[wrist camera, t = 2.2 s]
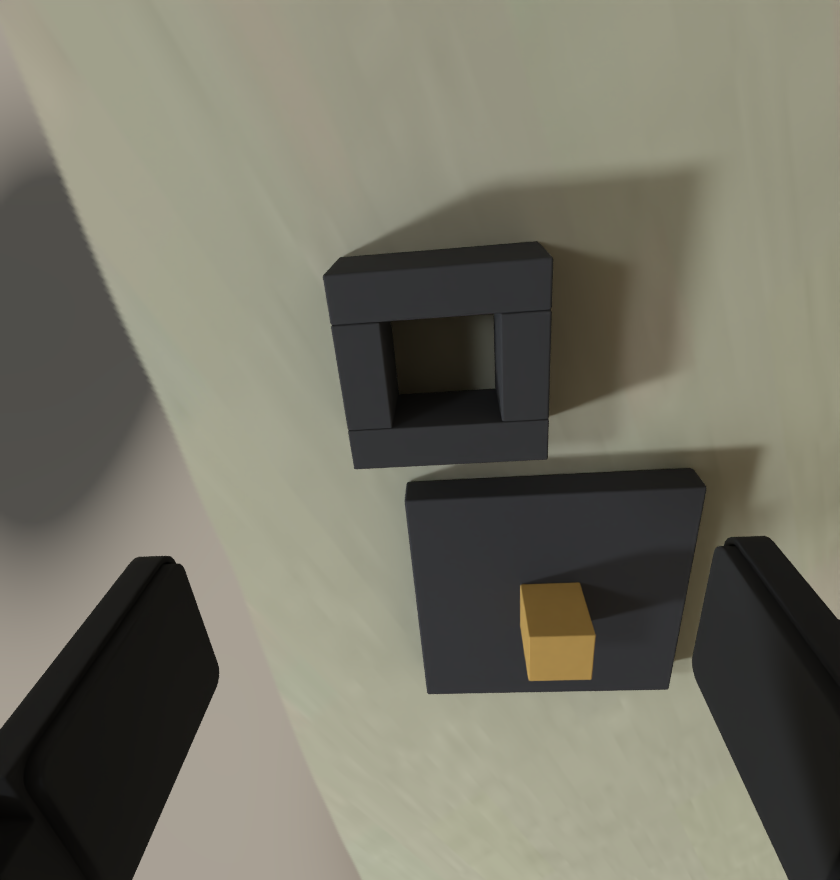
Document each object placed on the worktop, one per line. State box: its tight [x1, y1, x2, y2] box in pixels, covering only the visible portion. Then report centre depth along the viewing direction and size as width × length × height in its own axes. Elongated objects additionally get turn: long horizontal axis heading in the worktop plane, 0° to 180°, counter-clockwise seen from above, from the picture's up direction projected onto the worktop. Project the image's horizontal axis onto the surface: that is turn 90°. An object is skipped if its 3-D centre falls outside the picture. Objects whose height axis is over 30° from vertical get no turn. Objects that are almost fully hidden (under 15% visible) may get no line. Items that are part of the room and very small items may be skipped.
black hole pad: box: [323, 241, 553, 469], centre depth 20 cm, size 7×7×3 cm
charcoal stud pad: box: [405, 468, 706, 694], centre depth 24 cm, size 12×12×4 cm
